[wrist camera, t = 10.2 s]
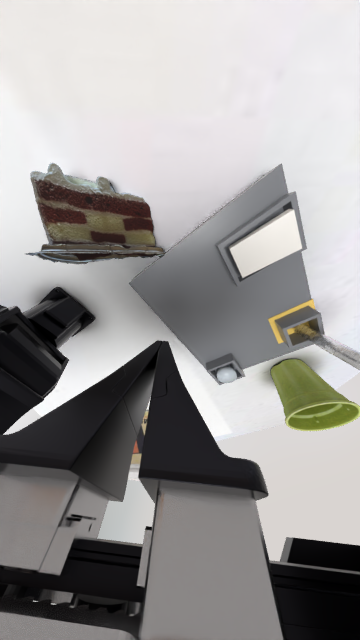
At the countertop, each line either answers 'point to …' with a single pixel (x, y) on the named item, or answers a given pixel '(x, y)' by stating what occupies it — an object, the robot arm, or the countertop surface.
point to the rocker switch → (267, 244)
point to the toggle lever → (330, 345)
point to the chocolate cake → (90, 220)
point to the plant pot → (310, 398)
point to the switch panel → (233, 286)
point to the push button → (226, 374)
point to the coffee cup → (138, 451)
